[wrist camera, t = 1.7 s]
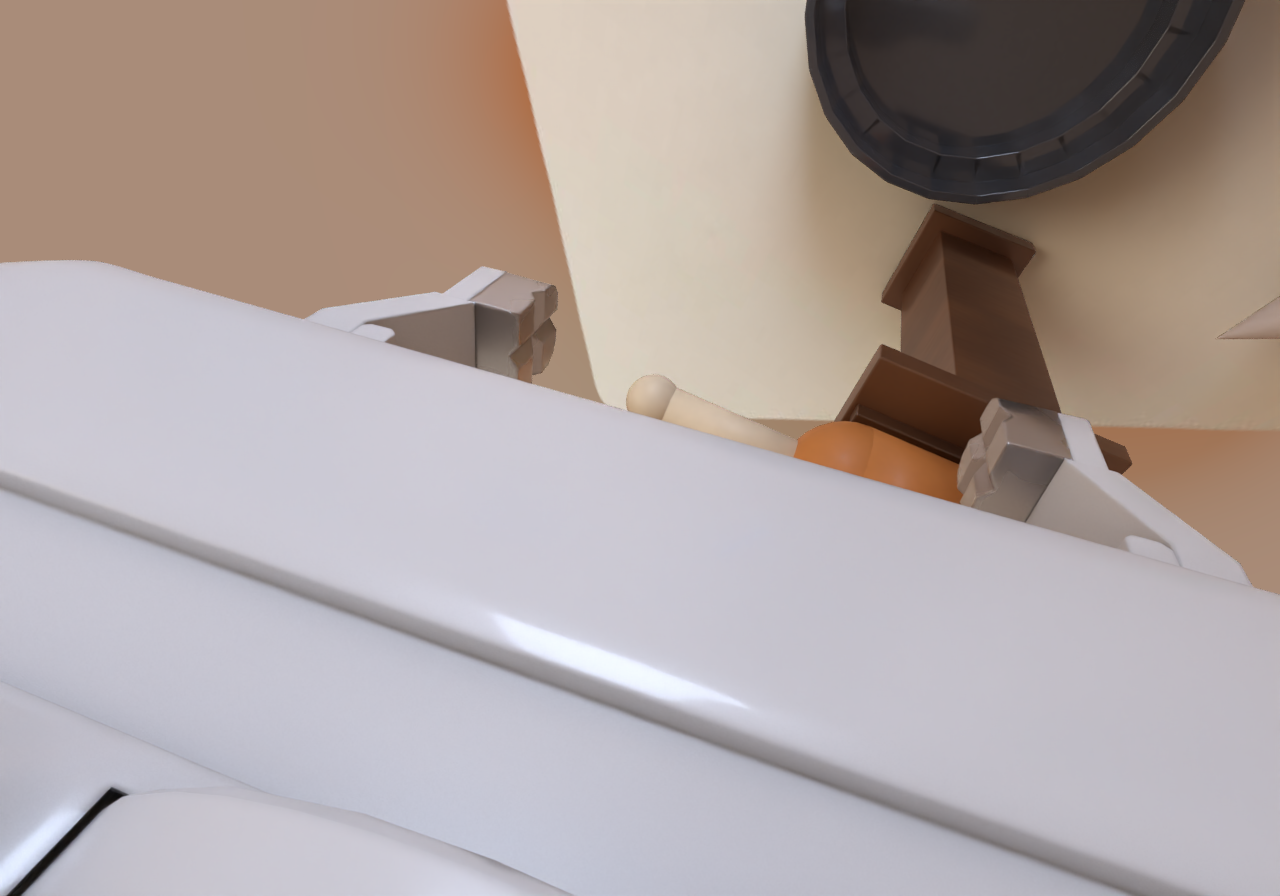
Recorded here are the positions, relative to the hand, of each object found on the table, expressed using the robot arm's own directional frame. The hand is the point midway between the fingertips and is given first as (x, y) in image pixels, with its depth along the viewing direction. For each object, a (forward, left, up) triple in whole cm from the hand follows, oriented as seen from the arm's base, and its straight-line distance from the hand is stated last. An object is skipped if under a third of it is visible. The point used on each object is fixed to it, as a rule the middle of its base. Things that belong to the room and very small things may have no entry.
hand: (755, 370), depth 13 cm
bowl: (-1, +8, -39) cm, 40 cm away
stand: (+13, +1, -39) cm, 42 cm away
